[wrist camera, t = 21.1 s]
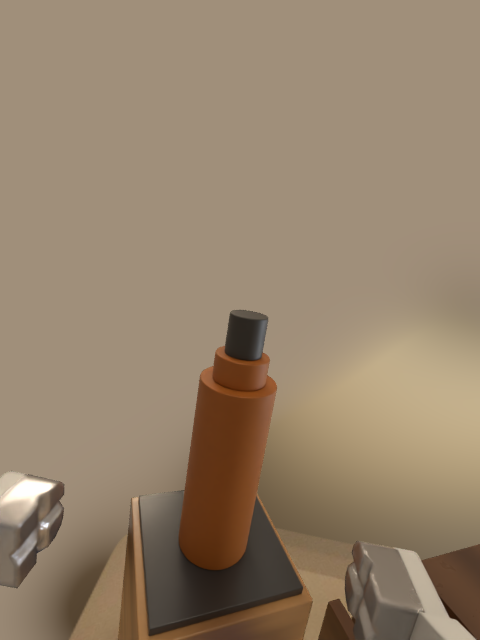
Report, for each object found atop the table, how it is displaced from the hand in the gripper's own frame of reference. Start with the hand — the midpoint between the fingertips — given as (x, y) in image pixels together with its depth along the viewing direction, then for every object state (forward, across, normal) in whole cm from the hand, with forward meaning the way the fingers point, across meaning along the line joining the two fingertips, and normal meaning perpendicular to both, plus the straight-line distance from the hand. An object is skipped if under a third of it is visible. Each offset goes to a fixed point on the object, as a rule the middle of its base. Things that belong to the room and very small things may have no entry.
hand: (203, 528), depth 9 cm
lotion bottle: (+11, 0, +12) cm, 16 cm away
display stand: (+11, 0, +28) cm, 30 cm away
